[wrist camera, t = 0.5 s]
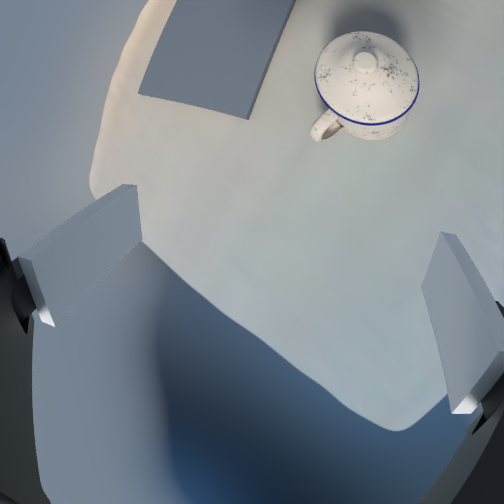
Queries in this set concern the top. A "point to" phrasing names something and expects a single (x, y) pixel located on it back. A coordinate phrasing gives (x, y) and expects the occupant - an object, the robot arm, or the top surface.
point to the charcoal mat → (216, 53)
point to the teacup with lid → (364, 86)
